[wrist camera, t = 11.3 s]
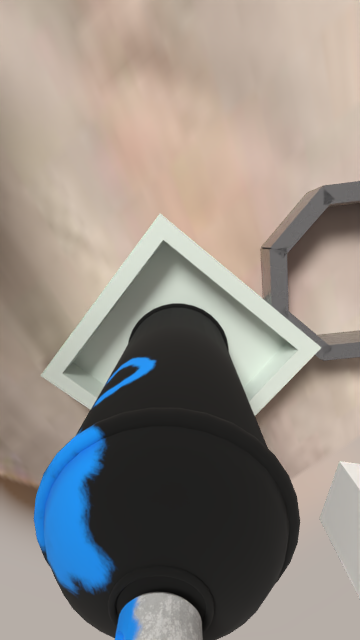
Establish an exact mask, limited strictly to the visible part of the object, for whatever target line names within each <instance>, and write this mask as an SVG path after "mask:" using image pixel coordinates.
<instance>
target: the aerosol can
mask: <svg viewBox="0 0 360 640" xmlns="http://www.w3.org/2000/svg"><path fill="white" fill-rule="evenodd" d="M228 351H229V348H228V342H227V338H226V335H225V333H224V330H223V329H222V327H221V326H220V324H219V323H218V321H217V320H216V319H215V318H214V317H213V316H212V315H210V314H209V313H207V312H206V311H204V310H203V309H200V308H198V307H196V306H193V305H188V304H183V303H172V304H167V305H162V306H160V307H157V308H155V309H153V310H151V311H150V312H148V313H147V314H145V315H144V316H143V317H142V318H141V319H140V320H139V321H138V322H137V324H136V325H135V327H134V328H133V330H132V332H131V335H130V337H129V341H128V345H127V347H126V349H125V351H124V352H123V354H122V356H121V358H120V359H119V361H118V363H117V365H116V366H115V368H114V370H113V372H112V373H111V375H110V377H109V379H108V380H107V382H106V384H105V386H104V387H103V389H102V391H101V393H100V394H99V396H98V398H97V400H96V401H95V403H94V405H93V407H92V408H91V410H90V412H89V414H88V415H87V417H86V419H85V421H84V422H83V424H82V426H81V428H80V429H79V431H78V433H77V435H76V436H75V437H74V438H73V439H72V440H71V441H70V442H69V443H67V444H66V445H65V446H64V447H63V448H62V449H61V450H60V451H59V452H58V453H57V454H56V456H55V457H54V459H53V460H52V462H51V463H50V465H49V466H48V468H47V469H46V471H45V472H44V475H43V477H42V480H41V483H40V486H39V489H38V492H37V495H36V501H35V512H34V522H35V529H36V536H37V540H38V543H39V545H40V548H41V550H42V553H43V555H44V558H45V560H46V561H47V563H48V564H49V566H50V567H51V569H52V572H53V574H54V577H55V579H56V581H57V583H58V585H59V586H60V588H61V590H62V592H63V594H64V596H65V597H66V599H67V600H68V602H69V603H70V605H71V606H72V608H73V609H74V610H75V611H76V612H77V613H78V614H79V615H80V616H81V617H82V618H83V619H84V620H85V621H86V622H88V623H89V624H91V625H92V626H94V627H95V628H97V629H98V630H99V631H101V632H103V633H105V634H107V635H109V636H111V637H113V638H115V640H216V639H219V638H221V637H223V636H225V635H228V634H230V633H231V632H233V631H234V630H235V629H237V628H238V627H240V626H241V625H243V624H244V623H245V622H246V621H247V620H248V619H249V618H250V617H251V616H252V615H253V614H254V613H255V612H256V611H257V610H258V608H259V607H260V605H261V604H262V603H263V601H264V600H265V598H266V597H267V595H268V594H269V592H270V591H271V589H272V588H273V586H274V585H275V583H276V582H277V581H278V580H279V578H280V577H281V575H282V574H283V572H284V571H285V569H286V568H287V566H288V565H289V563H290V562H291V559H292V556H293V554H294V551H295V548H296V545H297V543H298V535H299V526H300V517H299V509H298V502H297V496H296V493H295V490H294V488H293V485H292V483H291V480H290V478H289V475H288V474H287V472H286V471H285V469H284V468H283V467H282V465H281V464H280V462H279V461H278V459H277V458H276V456H275V455H274V454H273V453H272V452H271V451H270V450H269V449H268V448H267V445H266V443H265V440H264V438H263V435H262V433H261V430H260V428H259V426H258V423H257V421H256V418H255V416H254V413H253V411H252V408H251V406H250V403H249V401H248V398H247V396H246V394H245V391H244V389H243V386H242V384H241V381H240V379H239V376H238V374H237V371H236V369H235V366H234V364H233V361H232V359H231V357H230V354H229V352H228Z"/></svg>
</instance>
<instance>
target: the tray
mask: <svg viewBox="0 0 360 640" xmlns="http://www.w3.org/2000/svg"><path fill="white" fill-rule="evenodd" d="M172 303H183V304H188V305H193V306H196V307H198V308H200V309H203V310H204V311H206V312H207V313H209V314H210V315H212V316H213V317H214V318H215V319H216V320H217V321H218V323H219V324H220V326H221V327H222V329H223V330H224V333H225V335H226V338H227V342H228V348H229V351H228V352H229V354H230V357H231V359H232V361H233V364H234V366H235V369H236V371H237V374H238V376H239V379H240V381H241V384H242V386H243V389H244V391H245V394H246V396H247V398H248V401H249V403H250V406H251V408H252V411H253V413H254V416H255V415H256V414H257V413H258V412H259V411H260V410H261V409H262V408H263V407H264V406H265V405H266V404H267V403H268V402H269V401H270V400H271V399H272V398H273V397H274V396H275V395H276V394H277V393H278V392H279V391H280V390H281V389H282V388H283V387H284V386H285V385H286V384H287V383H288V382H289V381H290V380H291V379H292V378H293V376H294V375H295V374H296V373H297V372H298V371H299V370H300V369H301V368H302V367H303V366H304V365H305V364H306V363H307V362H308V361H309V360H310V359H311V358H312V357H313V356H314V355H315V354H316V353H317V352H318V351H319V350H320V349H321V347H320V346H319V345H318V344H317V343H315V342H314V341H313V340H312V339H311V338H309V337H308V336H307V335H306V334H305V333H303V332H302V331H301V330H300V329H299V328H297V327H296V326H295V325H294V324H292V323H291V322H290V321H289V320H288V319H286V318H285V317H284V316H283V315H282V314H280V313H279V312H278V311H277V310H276V309H274V308H273V307H272V306H271V305H270V304H268V303H267V302H266V301H265V300H264V299H262V298H261V297H260V296H259V295H258V294H256V293H255V292H254V291H253V290H252V289H250V288H249V287H248V286H247V285H246V284H244V283H243V282H242V281H241V280H240V279H238V278H237V277H236V276H235V275H234V274H232V273H231V272H230V271H229V270H228V269H226V268H225V267H224V266H223V265H222V264H220V263H219V262H218V261H217V260H215V259H214V258H213V257H212V256H211V255H209V254H208V253H207V252H206V251H205V250H203V249H202V248H201V247H200V246H199V245H197V244H196V243H195V242H194V241H193V240H191V239H190V238H189V237H188V236H187V235H185V234H184V233H183V232H182V231H181V230H179V229H178V228H177V227H176V226H175V225H173V224H172V223H171V222H170V221H169V220H167V219H166V218H165V217H164V216H163V215H161V214H159V215H158V217H157V218H156V220H155V221H154V222H153V224H152V225H151V226H150V228H149V229H148V230H147V232H146V233H145V234H144V236H143V237H142V239H141V240H140V241H139V243H138V244H137V245H136V247H135V248H134V249H133V251H132V252H131V253H130V255H129V256H128V258H127V259H126V260H125V262H124V263H123V264H122V266H121V267H120V268H119V270H118V271H117V272H116V274H115V275H114V277H113V278H112V279H111V281H110V282H109V283H108V285H107V286H106V287H105V289H104V290H103V291H102V293H101V294H100V296H99V297H98V298H97V300H96V301H95V302H94V304H93V305H92V306H91V308H90V309H89V310H88V312H87V313H86V315H85V316H84V317H83V319H82V320H81V321H80V323H79V324H78V325H77V327H76V328H75V329H74V331H73V332H72V334H71V335H70V336H69V338H68V339H67V340H66V342H65V343H64V344H63V346H62V347H61V348H60V350H59V351H58V353H57V354H56V355H55V357H54V358H53V359H52V361H51V362H50V363H49V365H48V366H47V367H46V369H45V370H44V372H43V373H42V374H41V376H42V377H43V378H45V379H46V380H48V381H49V382H50V383H52V384H53V385H55V386H56V387H58V388H59V389H61V390H62V391H64V392H65V393H66V394H68V395H69V396H71V397H72V398H74V399H75V400H77V401H78V402H80V403H81V404H83V405H84V406H85V407H87V408H88V409H90V410H91V408H92V407H93V405H94V403H95V401H96V400H97V398H98V396H99V394H100V393H101V391H102V389H103V387H104V386H105V384H106V382H107V380H108V379H109V377H110V375H111V373H112V372H113V370H114V368H115V366H116V365H117V363H118V361H119V359H120V358H121V356H122V354H123V352H124V351H125V349H126V347H127V345H128V341H129V337H130V335H131V332H132V330H133V328H134V327H135V325H136V324H137V322H138V321H139V320H140V319H141V318H142V317H143V316H144V315H145V314H147V313H148V312H150V311H151V310H153V309H155V308H157V307H160V306H162V305H167V304H172Z"/></svg>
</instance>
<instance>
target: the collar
mask: <svg viewBox="0 0 360 640" xmlns="http://www.w3.org/2000/svg"><path fill="white" fill-rule="evenodd" d="M356 203H360V181H357V182H349V183H341V184H333V185H325V186H322V187H319V188H317V189H315V190H312V191H310V192H308V193H306V195H305V196H304V197H303V198H302V199H301V201H300V202H299V203H298V204H297V205H296V207H295V208H294V209H293V210H292V211H291V212H290V214H289V215H288V216H287V217H286V218H285V220H284V221H283V222H282V223H281V224H280V226H279V227H278V228H277V229H276V230H275V231H274V233H273V234H272V235H271V236H270V237H269V239H268V240H267V241H266V242H265V243H264V245H263V246H262V248H263V249H261V267H262V289H263V299H264V300H265V301H266V302H267V303H268V304H270V305H271V306H272V307H273V308H274V309H276V310H277V311H278V312H279V313H280V314H282V315H283V316H284V317H285V318H286V319H288V320H289V321H290V322H291V323H292V324H294V325H295V326H296V327H297V328H299V329H300V330H301V331H302V332H303V333H305V334H306V335H307V336H308V337H309V338H311V339H312V340H313V341H314V342H315V343H317V344H318V345H319V346H320V347H321V349H320V350H319V351H318V352H317V353H316V354H315V355H316V356H317V357H318V358H320V359H321V360H334V359H344V358H354V357H360V331H352V332H342V333H332V334H322V335H316V334H315V333H314V332H313V331H311V330H310V329H309V328H308V327H307V326H305V325H304V324H303V323H302V322H301V321H300V320H298V319H297V318H296V317H295V316H294V315H292V314H291V313H290V312H289V311H288V271H287V253H288V252H289V251H290V250H291V249H292V247H293V246H294V245H295V244H296V243H297V242H298V240H299V239H300V238H301V237H302V236H303V235H304V234H305V232H306V231H307V230H308V229H309V228H310V227H311V225H312V224H313V223H314V222H315V221H316V220H317V219H318V217H319V216H320V215H321V214H322V213H323V212H324V211H325V209H326V208H327V207H331V206H339V205H348V204H356Z"/></svg>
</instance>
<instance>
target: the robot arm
mask: <svg viewBox="0 0 360 640" xmlns="http://www.w3.org/2000/svg"><path fill="white" fill-rule="evenodd" d="M320 521H321V523H322V525H323V527H324V529H325V530H326V533H327V535H328V537H329V539H330V541H331V543H332V545H333V547H334V549H335V551H336V553H337V554H338V557H339V559H340V561H341V562H342V565H343V567H344V568H345V571H346V573H347V575H348V576H349V578H350V581H351V583H352V585H353V587H354V589H355V591H356V593H357V594H358V597H359V598H360V464H357V463H349V462H339V464H338V467H337V470H336V473H335V476H334V478H333V481H332V485H331V487H330V490H329V493H328V496H327V499H326V502H325V504H324V507H323V510H322V513H321V516H320Z"/></svg>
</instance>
